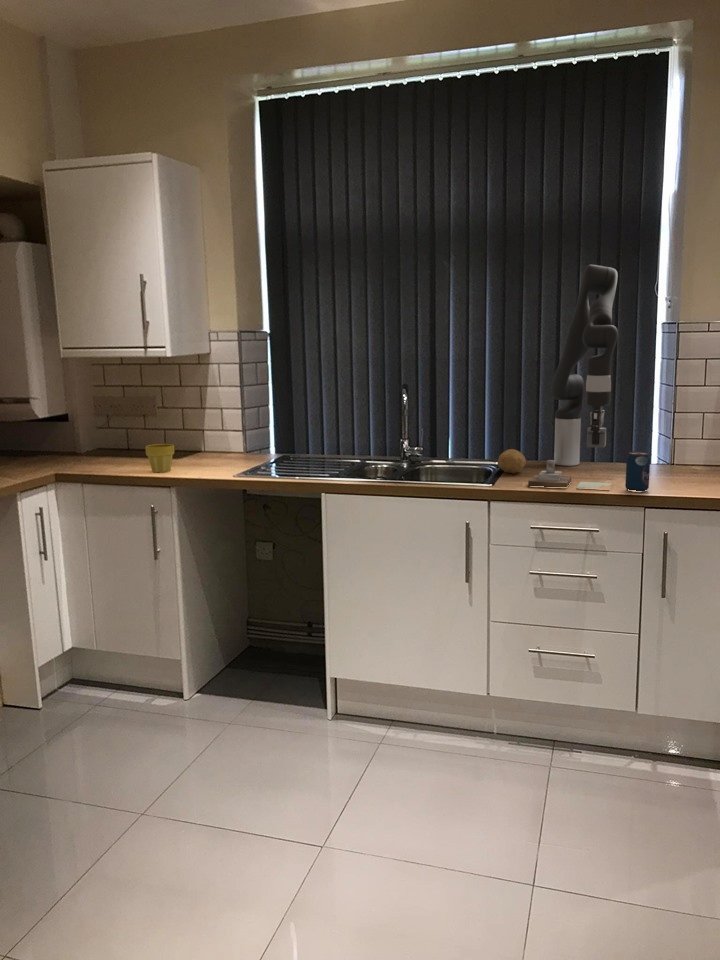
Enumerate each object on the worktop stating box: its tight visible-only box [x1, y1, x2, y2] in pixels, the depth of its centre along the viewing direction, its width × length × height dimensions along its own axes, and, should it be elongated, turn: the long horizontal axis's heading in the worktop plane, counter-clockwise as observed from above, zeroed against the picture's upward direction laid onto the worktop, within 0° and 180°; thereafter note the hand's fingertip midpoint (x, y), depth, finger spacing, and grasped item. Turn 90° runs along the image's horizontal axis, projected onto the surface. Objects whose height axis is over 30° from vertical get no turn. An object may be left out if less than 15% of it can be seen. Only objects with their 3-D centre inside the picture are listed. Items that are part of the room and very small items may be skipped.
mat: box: [576, 481, 613, 488], centre depth 259 cm, size 10×10×1 cm
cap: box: [586, 426, 607, 449], centre depth 256 cm, size 6×6×6 cm
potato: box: [497, 448, 527, 474], centre depth 286 cm, size 10×14×8 cm
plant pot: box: [144, 443, 175, 473], centre depth 301 cm, size 10×10×10 cm
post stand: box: [528, 459, 572, 487], centre depth 264 cm, size 12×12×8 cm
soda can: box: [624, 451, 651, 491], centre depth 252 cm, size 7×7×12 cm
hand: (596, 442), depth 257 cm, fingers closed on cap, 5 cm apart
